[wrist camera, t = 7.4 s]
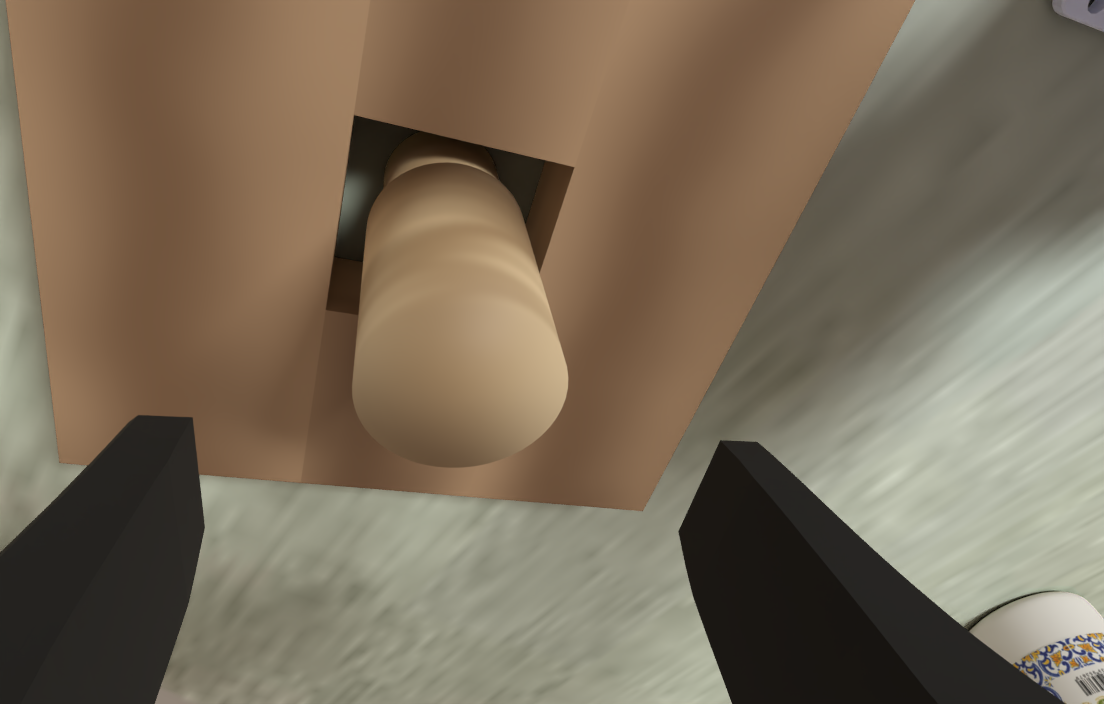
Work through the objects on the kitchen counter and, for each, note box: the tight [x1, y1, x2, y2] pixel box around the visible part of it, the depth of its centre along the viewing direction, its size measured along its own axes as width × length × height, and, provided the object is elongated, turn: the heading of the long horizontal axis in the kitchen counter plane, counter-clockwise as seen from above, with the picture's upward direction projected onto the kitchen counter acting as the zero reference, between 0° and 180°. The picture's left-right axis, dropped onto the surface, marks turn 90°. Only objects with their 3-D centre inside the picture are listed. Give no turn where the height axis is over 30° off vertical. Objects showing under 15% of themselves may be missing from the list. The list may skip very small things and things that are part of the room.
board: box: [6, 0, 915, 511], centre depth 17 cm, size 16×16×2 cm
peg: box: [352, 131, 568, 468], centre depth 14 cm, size 3×3×8 cm
